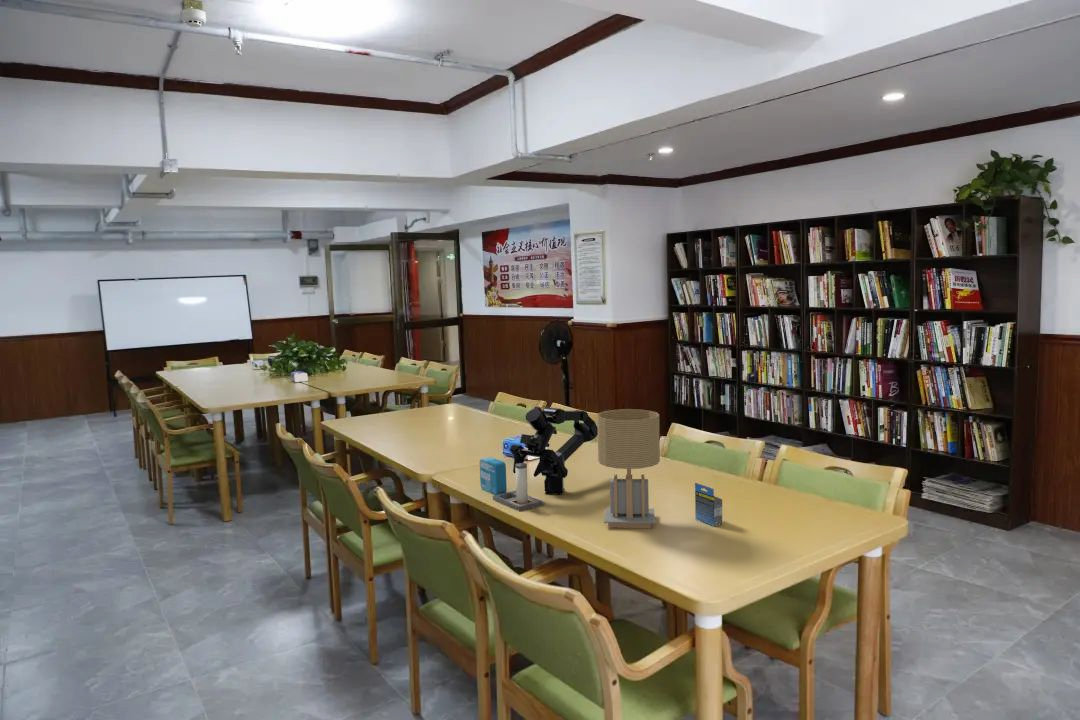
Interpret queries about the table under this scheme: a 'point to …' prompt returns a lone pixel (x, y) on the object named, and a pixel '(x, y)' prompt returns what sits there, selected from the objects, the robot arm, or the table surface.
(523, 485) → the white cylinder with cap
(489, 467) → the blue box
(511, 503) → the jack panel
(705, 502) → the label tape cartridge
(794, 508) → the table surface
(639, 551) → the table surface
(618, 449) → the desk lamp
